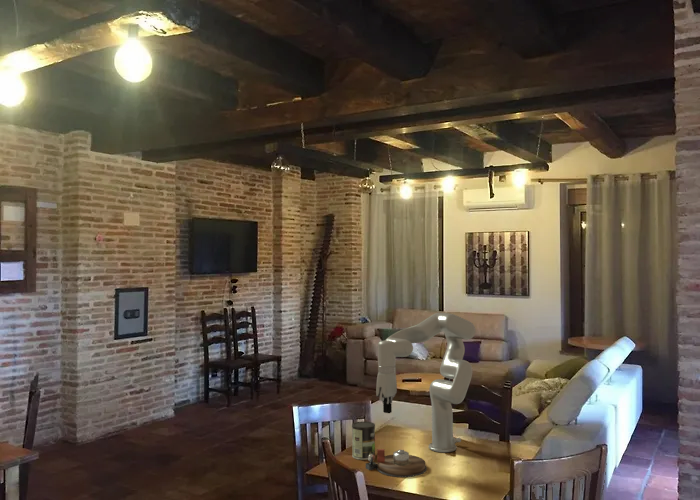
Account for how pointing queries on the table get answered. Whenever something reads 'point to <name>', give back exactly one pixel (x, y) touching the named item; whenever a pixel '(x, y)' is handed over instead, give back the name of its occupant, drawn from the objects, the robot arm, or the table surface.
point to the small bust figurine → (371, 463)
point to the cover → (401, 457)
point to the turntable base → (400, 475)
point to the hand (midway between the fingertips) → (387, 412)
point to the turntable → (389, 467)
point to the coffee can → (363, 440)
